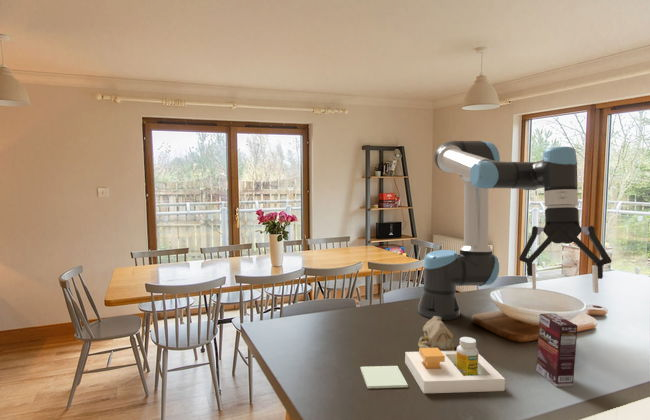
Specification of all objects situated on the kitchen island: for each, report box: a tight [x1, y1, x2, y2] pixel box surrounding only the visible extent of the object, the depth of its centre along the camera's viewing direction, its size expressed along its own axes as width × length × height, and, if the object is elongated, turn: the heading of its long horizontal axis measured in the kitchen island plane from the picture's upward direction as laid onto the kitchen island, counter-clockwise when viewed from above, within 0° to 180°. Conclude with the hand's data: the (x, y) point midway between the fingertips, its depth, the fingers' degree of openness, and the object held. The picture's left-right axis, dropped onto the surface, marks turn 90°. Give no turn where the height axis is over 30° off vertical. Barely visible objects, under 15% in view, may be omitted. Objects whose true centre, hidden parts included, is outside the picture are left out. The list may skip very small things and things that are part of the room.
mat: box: [359, 365, 409, 389], centre depth 104 cm, size 10×10×1 cm
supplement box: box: [535, 312, 578, 388], centre depth 104 cm, size 9×5×16 cm, turn 5°
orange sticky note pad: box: [418, 347, 445, 369], centre depth 105 cm, size 5×5×4 cm
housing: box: [404, 350, 506, 394], centre depth 106 cm, size 16×20×3 cm
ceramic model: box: [417, 316, 455, 351], centre depth 122 cm, size 14×11×10 cm
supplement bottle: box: [455, 336, 479, 376], centre depth 106 cm, size 5×5×10 cm
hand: (564, 290), depth 104 cm, fingers open, 13 cm apart
